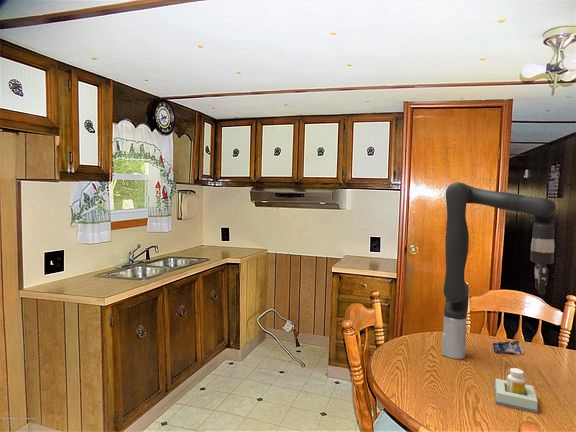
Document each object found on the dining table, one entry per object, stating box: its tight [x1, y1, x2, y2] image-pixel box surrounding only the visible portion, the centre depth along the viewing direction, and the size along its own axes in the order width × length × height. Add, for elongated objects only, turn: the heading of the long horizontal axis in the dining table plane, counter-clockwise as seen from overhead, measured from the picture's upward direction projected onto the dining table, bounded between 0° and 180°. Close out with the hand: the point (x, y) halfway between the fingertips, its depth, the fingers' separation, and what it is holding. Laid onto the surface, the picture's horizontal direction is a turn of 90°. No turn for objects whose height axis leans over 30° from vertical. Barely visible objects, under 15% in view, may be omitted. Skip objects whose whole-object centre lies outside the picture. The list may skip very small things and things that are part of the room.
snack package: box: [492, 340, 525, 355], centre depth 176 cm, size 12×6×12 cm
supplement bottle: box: [506, 367, 526, 395], centre depth 134 cm, size 5×5×10 cm
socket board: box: [493, 378, 539, 414], centre depth 136 cm, size 12×17×4 cm
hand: (540, 291), depth 151 cm, fingers open, 8 cm apart
